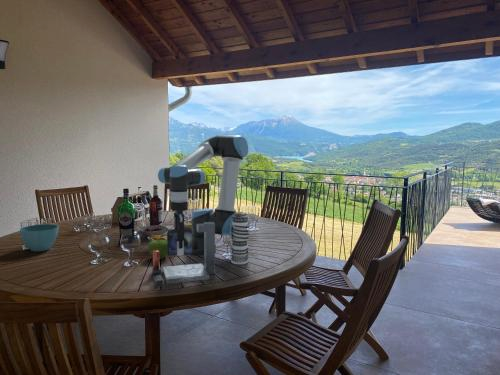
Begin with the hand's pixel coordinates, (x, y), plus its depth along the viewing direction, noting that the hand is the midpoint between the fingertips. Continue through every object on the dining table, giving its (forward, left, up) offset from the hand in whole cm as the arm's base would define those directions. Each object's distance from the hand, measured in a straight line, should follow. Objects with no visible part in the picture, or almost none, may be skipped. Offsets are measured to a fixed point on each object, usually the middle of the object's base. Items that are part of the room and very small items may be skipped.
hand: (179, 252), depth 152 cm
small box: (0, 0, -1) cm, 1 cm away
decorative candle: (-11, +32, -11) cm, 35 cm away
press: (0, +2, -10) cm, 11 cm away
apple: (-28, -6, -11) cm, 31 cm away
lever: (-5, -9, -9) cm, 14 cm away
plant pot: (-62, -66, -11) cm, 92 cm away
